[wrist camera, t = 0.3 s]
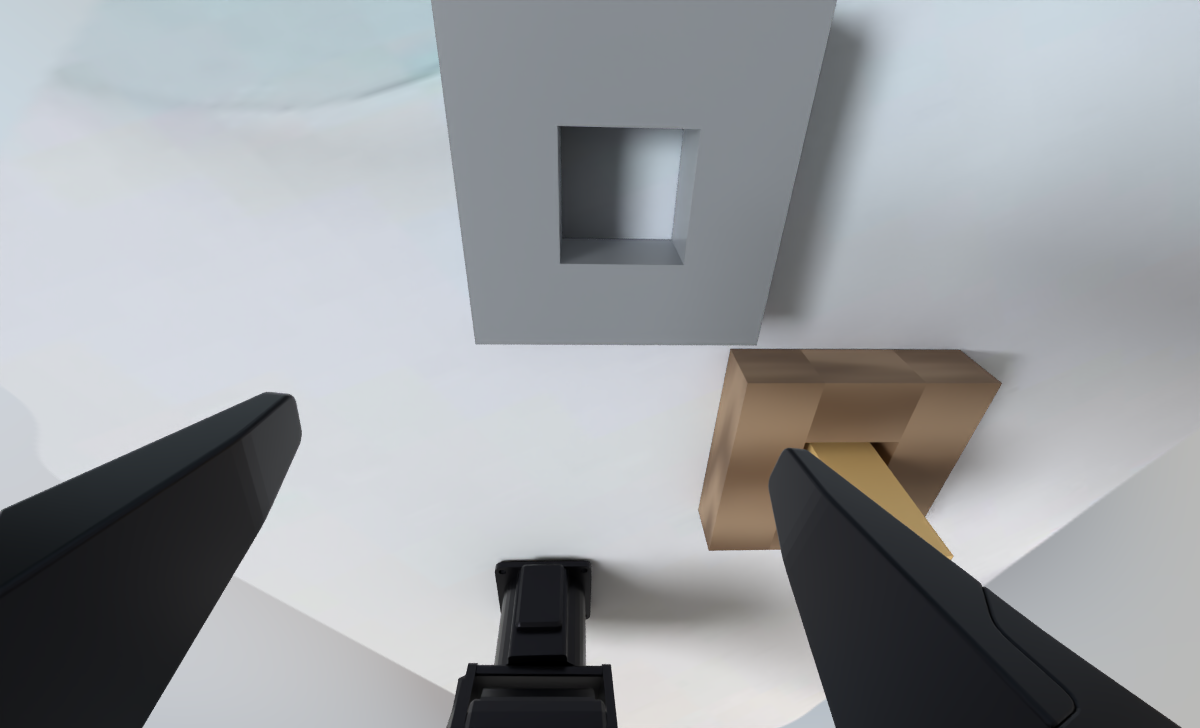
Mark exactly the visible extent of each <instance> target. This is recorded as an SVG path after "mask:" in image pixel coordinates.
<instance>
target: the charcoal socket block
mask: <svg viewBox="0 0 1200 728" xmlns="http://www.w3.org/2000/svg"><path fill="white" fill-rule="evenodd" d="M836 2H837V0H431V3H432V11H433V18H434V26H435V34H436V42H437V49H438V57H439V65H440V73H441V80H442V88H443V96H444V103H445V111H446V119H447V127H448V134H449V142H450V150H451V158H452V165H453V173H454V181H455V189H456V196H457V204H458V212H459V220H460V227H461V235H462V243H463V251H464V258H465V266H466V274H467V282H468V289H469V297H470V305H471V313H472V320H473V328H474V336H475V344H540V345H757V341H758V337H759V333H760V328H761V324H762V320H763V316H764V311H765V307H766V303H767V298H768V294H769V290H770V286H771V281H772V277H773V273H774V268H775V264H776V260H777V255H778V251H779V247H780V243H781V238H782V234H783V230H784V225H785V221H786V217H787V212H788V208H789V204H790V200H791V195H792V191H793V187H794V182H795V178H796V174H797V169H798V165H799V161H800V157H801V152H802V148H803V144H804V139H805V135H806V131H807V126H808V122H809V118H810V114H811V109H812V105H813V101H814V96H815V92H816V88H817V83H818V79H819V75H820V71H821V66H822V62H823V58H824V53H825V49H826V45H827V40H828V36H829V32H830V28H831V23H832V19H833V15H834V10H835V6H836ZM560 126H583V127H625V128H666V129H683V139H682V148H681V157H680V166H679V175H678V185H677V194H676V203H675V212H674V222H673V231H672V240H656V239H584V238H562V200H561V137H560Z"/></svg>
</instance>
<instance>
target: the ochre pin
mask: <svg viewBox="0 0 1200 728" xmlns="http://www.w3.org/2000/svg"><path fill="white" fill-rule="evenodd" d="M803 449H805V450H808V451H809V452H811V453H812V454H813V455H814V456H816V457H817V458H818V459H820V460H821V461H822V462H824V463H825V464H826V465H827V466H829V467H830V468H831V469H833V470H834V471H835V472H837V473H838V474H839V475H840V476H842V477H843V478H844V479H846V480H847V481H848V482H850V483H851V484H852V485H854V486H855V487H856V488H857V489H859V490H860V491H861V492H863V493H864V494H865V495H867V496H868V497H869V498H870V499H872V500H873V501H874V502H876V503H877V504H878V505H880V506H881V507H882V508H883V509H885V510H886V511H887V512H889V513H890V514H891V515H893V516H894V517H895V518H896V519H898V520H899V521H900V522H902V523H903V524H904V525H906V526H907V527H908V528H910V529H911V530H912V531H913V532H915V533H916V534H917V535H919V536H920V537H921V538H923V539H924V540H925V541H926V542H928V543H929V544H930V545H932V546H933V547H934V548H936V549H937V550H938V551H939V552H941V553H942V554H943V555H945V556H946V557H947V558H949V559H950V560H951V559H952V558H953V555H952V553H951V552H950V551H949V549H948V548H947V547H946V545H945V544H944V543H943V541H942V540H941V538H940V537H939V536H938V534H937V533H936V532H935V530H934V529H933V528H932V526H931V525H930V524H929V522H928V521H927V519H926V518H925V517H924V515H923V514H922V513H921V511H920V510H919V509H918V507H917V506H916V505H915V503H914V502H913V500H912V499H911V498H910V496H909V495H908V494H907V492H906V491H905V490H904V488H903V487H902V486H901V484H900V483H899V481H898V480H897V479H896V477H895V476H894V475H893V473H892V472H891V471H890V469H889V468H888V466H887V465H886V464H885V462H884V461H883V460H882V458H881V457H880V456H879V454H878V453H877V452H876V450H875V449H874V447H873V446H872V445H871V443H870V442H814V443H805V445H804V448H803Z"/></svg>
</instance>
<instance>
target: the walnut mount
mask: <svg viewBox="0 0 1200 728" xmlns="http://www.w3.org/2000/svg"><path fill="white" fill-rule="evenodd" d="M1001 384H1002V383H1001V382H1000V381H998V380H997V379H996V378H995V377H993V376H992V375H991V374H990V373H988V372H987V371H986V370H985V369H983V368H982V367H981V366H980V365H978V364H977V363H976V362H975V361H973V360H972V359H971V358H970V357H968V356H967V355H966V354H964V353H963V352H962V351H961V350H864V349H730V354H729V359H728V364H727V369H726V374H725V379H724V384H723V389H722V394H721V399H720V404H719V409H718V414H717V419H716V424H715V429H714V434H713V439H712V444H711V449H710V454H709V459H708V464H707V469H706V474H705V479H704V484H703V489H702V494H701V499H700V504H699V509H698V511H699V515H700V518H701V522H702V526H703V530H704V534H705V538H706V542H707V545H708V549H709V551H715V550H780V544H779V539H778V534H777V529H776V524H775V519H774V514H773V509H772V504H771V500H770V495H769V489H768V482H769V478H770V475H771V473H772V471H773V469H774V467H775V465H776V463H777V461H778V459H779V456H780V454H781V453H782V451H783V450H784V449H786V448H798V449H803V448H804V445H805V443H814V442H870V443H871V445H872V446H873V447H874V449H875V450H876V452H877V453H878V454H879V456H880V457H881V458H882V460H883V461H884V462H885V464H886V465H887V466H888V468H889V469H890V471H891V472H892V473H893V475H894V476H895V477H896V479H897V480H898V481H899V483H900V484H901V486H902V487H903V488H904V490H905V491H906V492H907V494H908V495H909V496H910V498H911V499H912V500H913V502H914V503H915V505H916V506H917V507H918V509H919V510H920V511H921V513H922V514H923V515H924V517H925V516H926V514H927V513H928V511H929V509H930V507H931V506H932V504H933V502H934V500H935V499H936V497H937V495H938V493H939V492H940V490H941V488H942V487H943V485H944V483H945V481H946V480H947V478H948V476H949V474H950V473H951V471H952V469H953V467H954V466H955V464H956V462H957V461H958V459H959V457H960V455H961V454H962V452H963V450H964V448H965V447H966V445H967V443H968V441H969V440H970V438H971V436H972V435H973V433H974V431H975V429H976V428H977V426H978V424H979V422H980V421H981V419H982V417H983V415H984V414H985V412H986V410H987V409H988V407H989V405H990V403H991V402H992V400H993V398H994V396H995V395H996V393H997V391H998V389H999V388H1000V386H1001Z"/></svg>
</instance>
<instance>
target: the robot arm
mask: <svg viewBox="0 0 1200 728" xmlns="http://www.w3.org/2000/svg"><path fill="white" fill-rule="evenodd" d="M301 437H302V430H301V425H300V420H299V414H298V409H297V404H296V401H295V398H294V397H293V396H292V395H290V394H284V393H275V392H265V393H262V394H260V395H258V396H255V397H253V398H251V399H249V400H246V401H244V402H242V403H240V404H237V405H235V406H233V407H231V408H229V409H226V410H224V411H222V412H220V413H217V414H215V415H213V416H211V417H208V418H206V419H204V420H202V421H199V422H197V423H195V424H193V425H191V426H188V427H186V428H184V429H182V430H179V431H177V432H175V433H173V434H170V435H168V436H166V437H164V438H161V439H159V440H157V441H155V442H152V443H150V444H148V445H146V446H144V447H141V448H139V449H137V450H135V451H132V452H130V453H128V454H126V455H123V456H121V457H119V458H117V459H114V460H112V461H110V462H108V463H105V464H103V465H101V466H99V467H96V468H94V469H92V470H90V471H88V472H85V473H83V474H81V475H79V476H76V477H74V478H72V479H70V480H67V481H65V482H63V483H61V484H58V485H56V486H54V487H52V488H50V489H47V490H45V491H43V492H40V493H38V494H36V495H34V496H32V497H29V498H27V499H25V500H23V501H20V502H18V503H16V504H14V505H11V506H9V507H7V508H5V509H3V510H1V512H0V728H142V727H143V726H144V724H145V722H146V721H147V719H148V717H149V715H150V714H151V712H152V710H153V709H154V707H155V705H156V703H157V702H158V700H159V699H160V697H161V695H162V694H163V692H164V690H165V689H166V687H167V685H168V684H169V682H170V680H171V679H172V677H173V675H174V674H175V672H176V670H177V668H178V667H179V665H180V663H181V662H182V660H183V658H184V657H185V655H186V653H187V651H188V650H189V648H190V647H191V645H192V643H193V642H194V639H195V638H196V637H197V635H198V633H199V631H200V630H201V628H202V626H203V625H204V623H205V621H206V620H207V618H208V616H209V615H210V613H211V611H212V610H213V608H214V606H215V605H216V603H217V601H218V600H219V598H220V596H221V595H222V593H223V591H224V590H225V588H226V586H227V584H228V583H229V581H230V579H231V578H232V576H233V574H234V573H235V571H236V569H237V568H238V566H239V564H240V563H241V561H242V559H243V558H244V556H245V554H246V553H247V551H248V549H249V548H250V546H251V544H252V542H253V541H254V539H255V537H256V536H257V534H258V532H259V530H260V529H261V527H262V525H263V523H264V522H265V520H266V517H267V515H268V513H269V511H270V509H271V507H272V505H273V503H274V500H275V498H276V496H277V494H278V491H279V489H280V487H281V485H282V483H283V480H284V478H285V476H286V474H287V471H288V469H289V467H290V465H291V463H292V460H293V458H294V456H295V454H296V451H297V449H298V447H299V445H300V441H301ZM768 489H769V495H770V500H771V504H772V509H773V514H774V519H775V524H776V529H777V534H778V539H779V544H780V549H781V553H782V557H783V561H784V565H785V568H786V572H787V575H788V578H789V581H790V585H791V588H792V591H793V594H794V597H795V600H796V603H797V607H798V610H799V613H800V616H801V619H802V622H803V626H804V629H805V632H806V635H807V638H808V641H809V645H810V648H811V651H812V654H813V657H814V660H815V663H816V667H817V670H818V673H819V676H820V679H821V682H822V686H823V689H824V692H825V695H826V698H827V701H828V705H829V707H830V711H831V714H832V717H833V720H834V723H835V726H836V728H1181V727H1180V726H1178V725H1177V724H1175V723H1174V722H1173V721H1171V720H1170V719H1168V718H1167V717H1166V716H1164V715H1163V714H1161V713H1160V712H1158V711H1157V710H1156V709H1154V708H1153V707H1151V706H1150V705H1148V704H1147V703H1145V702H1144V701H1143V700H1141V699H1140V698H1138V697H1137V696H1136V695H1134V694H1132V693H1131V692H1130V691H1128V690H1127V689H1125V688H1124V687H1123V686H1121V685H1120V684H1118V683H1117V682H1115V681H1114V680H1113V679H1111V678H1110V677H1108V676H1107V675H1105V674H1104V673H1103V672H1101V671H1100V670H1098V669H1097V668H1095V667H1094V666H1093V665H1091V664H1090V663H1088V662H1087V661H1085V660H1084V659H1083V658H1081V657H1080V656H1078V655H1077V654H1076V653H1074V652H1073V651H1071V650H1070V649H1068V648H1067V647H1066V646H1064V645H1063V644H1061V643H1060V642H1059V641H1057V640H1056V639H1054V638H1053V637H1052V636H1050V635H1049V634H1047V633H1046V632H1045V631H1043V630H1042V629H1041V628H1039V627H1038V626H1037V625H1035V624H1034V623H1033V622H1031V621H1030V620H1028V619H1027V618H1026V617H1025V616H1023V615H1022V614H1021V613H1019V612H1018V611H1017V610H1015V609H1014V608H1012V607H1011V606H1010V605H1008V604H1007V603H1006V602H1005V601H1003V600H1002V599H1001V598H999V597H998V596H997V595H995V594H994V593H993V592H992V591H990V590H989V589H988V588H986V587H982V585H981V583H980V582H979V581H977V580H976V579H975V578H973V577H972V576H971V575H969V574H968V573H967V572H966V571H964V570H963V569H962V568H960V567H959V566H958V565H956V564H955V563H954V562H952V561H951V560H950V559H949V558H947V557H946V556H945V555H943V554H942V553H941V552H939V551H938V550H937V549H936V548H934V547H933V546H932V545H930V544H929V543H928V542H926V541H925V540H924V539H923V538H921V537H920V536H919V535H917V534H916V533H915V532H913V531H912V530H911V529H910V528H908V527H907V526H906V525H904V524H903V523H902V522H900V521H899V520H898V519H896V518H895V517H894V516H893V515H891V514H890V513H889V512H887V511H886V510H885V509H883V508H882V507H881V506H880V505H878V504H877V503H876V502H874V501H873V500H872V499H870V498H869V497H868V496H867V495H865V494H864V493H863V492H861V491H860V490H859V489H857V488H856V487H855V486H854V485H852V484H851V483H850V482H848V481H847V480H846V479H844V478H843V477H842V476H840V475H839V474H838V473H837V472H835V471H834V470H833V469H831V468H830V467H829V466H827V465H826V464H825V463H824V462H822V461H821V460H820V459H818V458H817V457H816V456H814V455H813V454H812V453H811V452H809V451H808V450H805V449H798V448H786V449H784V450H783V451H782V453H781V454H780V456H779V459H778V461H777V463H776V465H775V467H774V469H773V471H772V473H771V475H770V478H769V482H768ZM495 576H496V583H497V590H498V597H499V603H500V610H501V619H500V626H499V634H498V641H497V648H496V656H495V663H494V665H478V663H469V664H468V668H467V672H466V675H465V676H463V677H461V678H459V679H458V684H457V690H456V695H455V700H454V705H453V709H452V713H451V716H450V719H449V722H448V725H447V728H618V727H617V717H616V708H615V699H614V690H613V681H612V671H611V664H602V666H586V628H585V619H588V618H589V617H590V602H591V563H590V562H588V561H546V562H501V563H498V564H497V565H496V568H495Z"/></svg>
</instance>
